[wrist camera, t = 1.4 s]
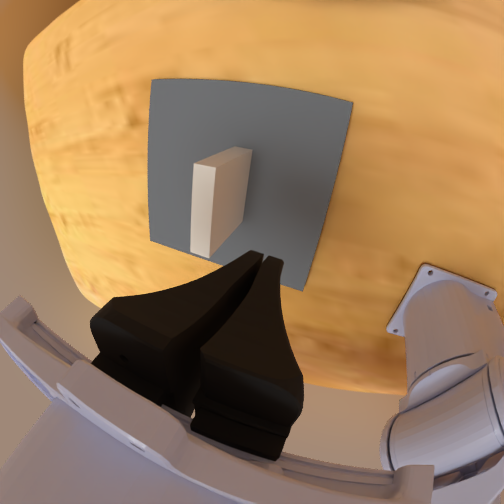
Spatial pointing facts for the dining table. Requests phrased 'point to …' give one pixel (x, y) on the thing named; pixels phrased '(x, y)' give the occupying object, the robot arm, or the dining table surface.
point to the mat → (261, 168)
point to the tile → (218, 198)
